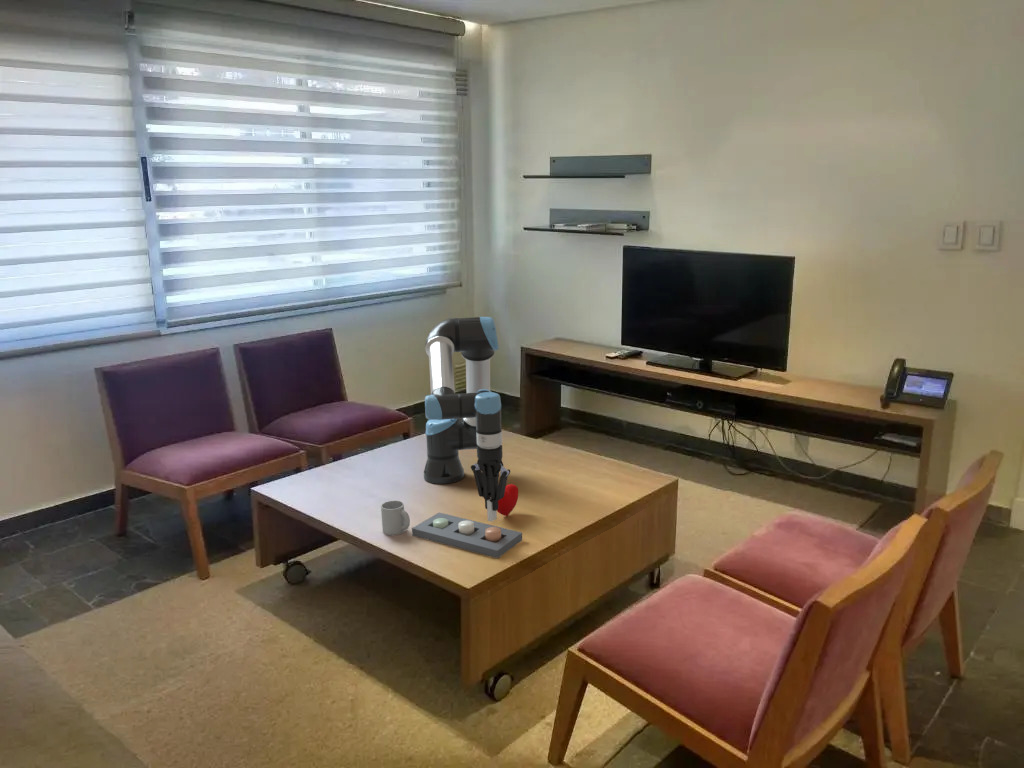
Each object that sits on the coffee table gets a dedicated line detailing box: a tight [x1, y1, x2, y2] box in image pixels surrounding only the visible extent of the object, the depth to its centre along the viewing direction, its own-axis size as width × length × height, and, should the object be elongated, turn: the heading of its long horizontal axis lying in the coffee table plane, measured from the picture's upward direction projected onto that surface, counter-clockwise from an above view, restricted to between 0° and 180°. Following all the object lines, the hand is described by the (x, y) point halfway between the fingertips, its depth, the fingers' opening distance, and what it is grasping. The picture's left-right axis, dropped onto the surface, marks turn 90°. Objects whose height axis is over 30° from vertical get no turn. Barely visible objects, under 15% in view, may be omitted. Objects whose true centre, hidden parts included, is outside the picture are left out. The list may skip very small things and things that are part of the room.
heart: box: [496, 483, 519, 517], centre depth 261 cm, size 12×5×10 cm, turn 148°
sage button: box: [433, 518, 448, 529], centre depth 252 cm, size 5×5×3 cm
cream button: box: [458, 519, 474, 536], centre depth 246 cm, size 5×5×3 cm
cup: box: [380, 500, 411, 536], centre depth 252 cm, size 7×10×9 cm
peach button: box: [485, 526, 501, 543], centre depth 241 cm, size 5×5×3 cm
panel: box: [411, 512, 523, 559], centre depth 247 cm, size 32×14×2 cm, turn 58°
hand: (492, 519), depth 240 cm, fingers closed
